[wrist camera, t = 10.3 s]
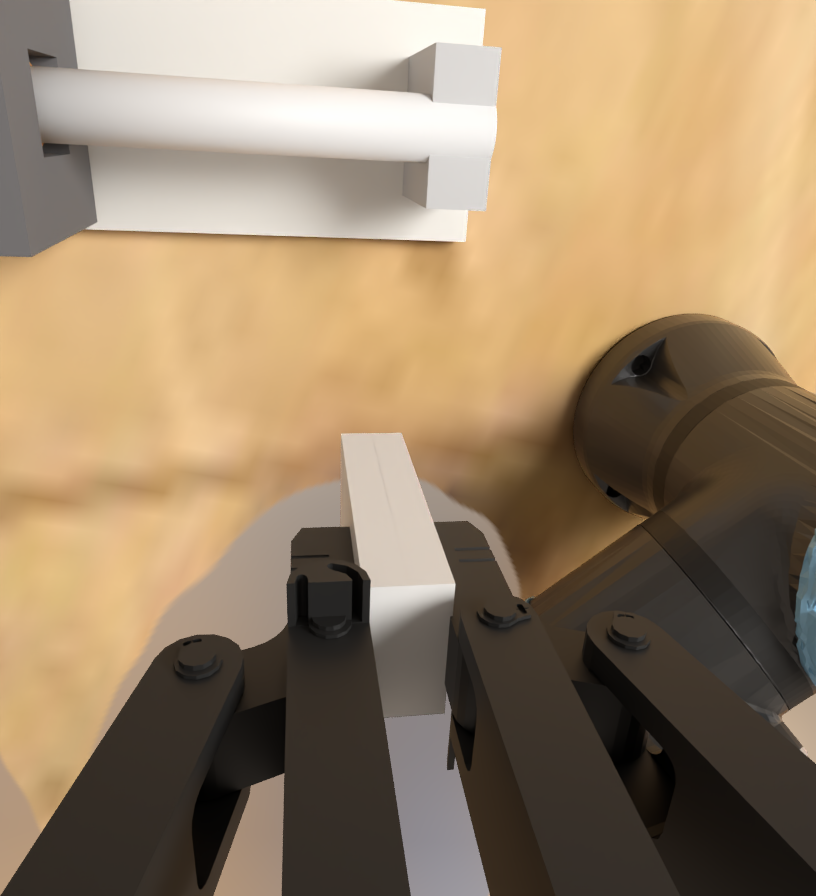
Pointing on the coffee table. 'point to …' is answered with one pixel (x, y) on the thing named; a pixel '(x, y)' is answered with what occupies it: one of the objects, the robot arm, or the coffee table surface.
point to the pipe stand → (279, 115)
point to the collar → (37, 135)
